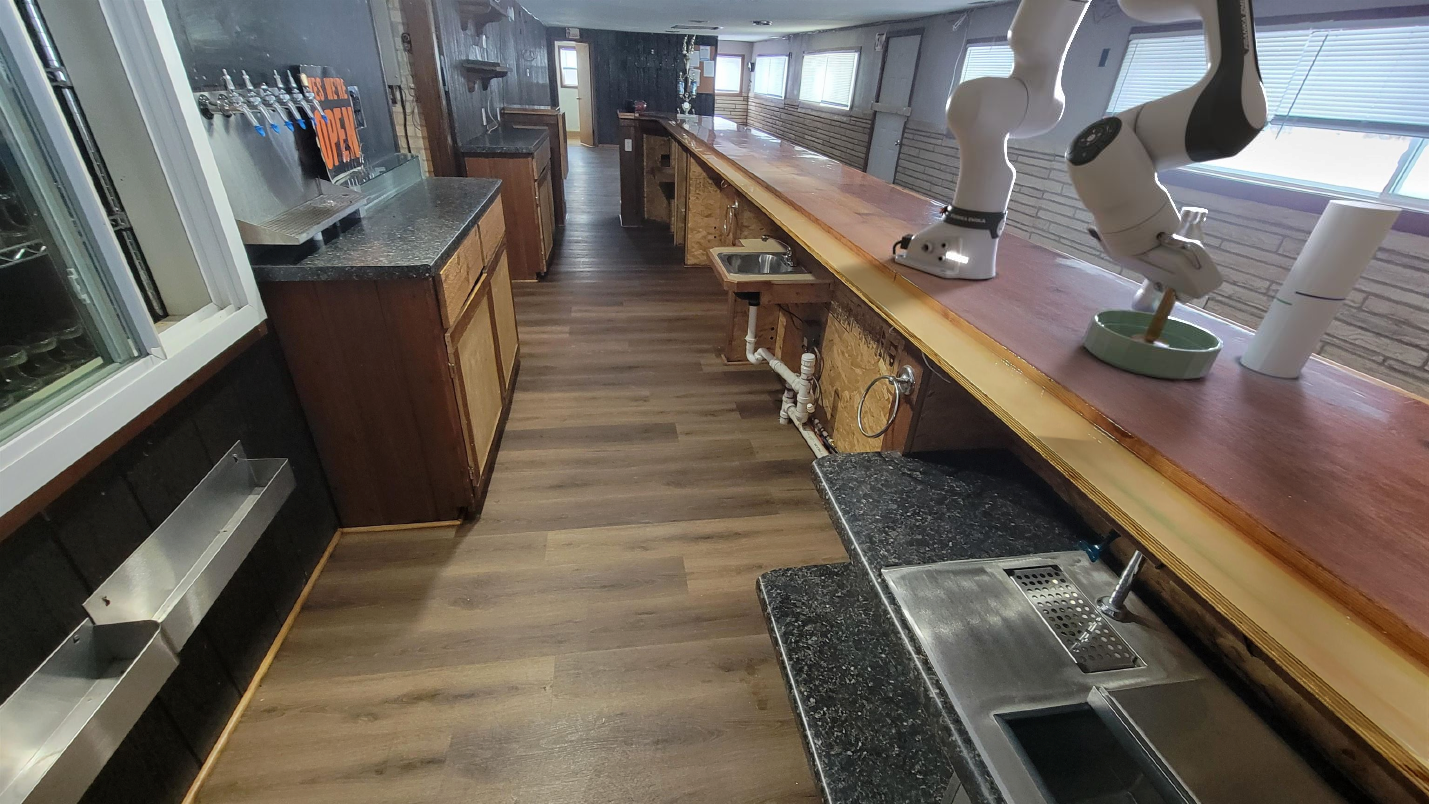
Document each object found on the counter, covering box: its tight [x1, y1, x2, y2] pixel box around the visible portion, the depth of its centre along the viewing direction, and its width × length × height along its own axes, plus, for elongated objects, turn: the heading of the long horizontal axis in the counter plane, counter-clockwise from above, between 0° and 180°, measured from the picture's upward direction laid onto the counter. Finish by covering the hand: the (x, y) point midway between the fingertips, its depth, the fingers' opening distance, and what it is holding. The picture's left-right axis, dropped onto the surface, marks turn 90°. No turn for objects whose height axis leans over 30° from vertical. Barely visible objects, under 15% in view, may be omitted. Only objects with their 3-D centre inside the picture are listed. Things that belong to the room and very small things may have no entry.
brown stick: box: [1130, 241, 1203, 347], centre depth 86 cm, size 5×5×18 cm
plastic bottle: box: [1130, 206, 1208, 314], centre depth 104 cm, size 6×7×20 cm
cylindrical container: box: [1239, 199, 1403, 379], centre depth 84 cm, size 7×7×25 cm
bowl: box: [1082, 308, 1224, 380], centre depth 90 cm, size 17×17×5 cm
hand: (1175, 294), depth 86 cm, fingers open, 3 cm apart
